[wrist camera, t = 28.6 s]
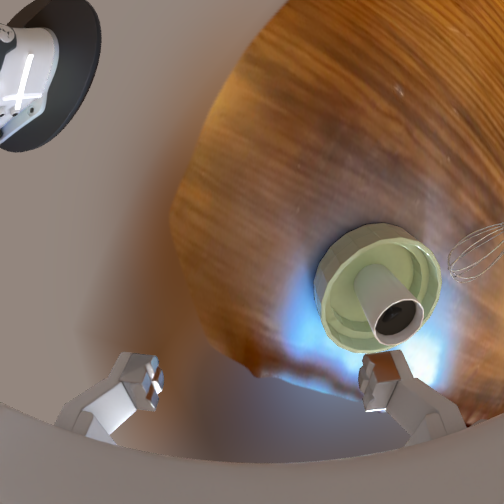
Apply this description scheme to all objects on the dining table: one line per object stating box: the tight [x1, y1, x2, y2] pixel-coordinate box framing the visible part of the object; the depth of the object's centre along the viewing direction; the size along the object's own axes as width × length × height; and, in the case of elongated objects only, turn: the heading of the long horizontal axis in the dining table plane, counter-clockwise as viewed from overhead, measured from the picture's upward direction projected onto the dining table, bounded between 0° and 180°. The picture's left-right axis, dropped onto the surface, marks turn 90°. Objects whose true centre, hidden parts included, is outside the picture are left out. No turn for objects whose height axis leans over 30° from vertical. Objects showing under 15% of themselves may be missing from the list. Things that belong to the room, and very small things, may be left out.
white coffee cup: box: [353, 264, 424, 346], centre depth 35 cm, size 7×7×10 cm
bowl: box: [313, 223, 442, 354], centre depth 37 cm, size 17×17×6 cm
